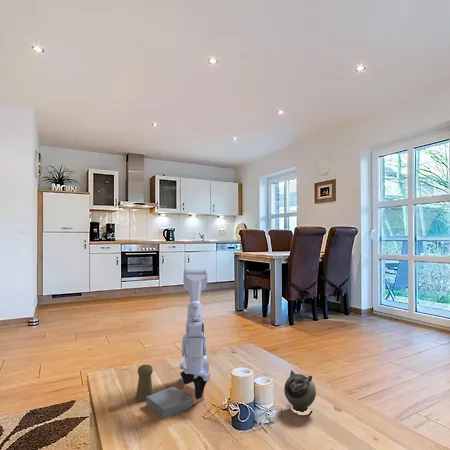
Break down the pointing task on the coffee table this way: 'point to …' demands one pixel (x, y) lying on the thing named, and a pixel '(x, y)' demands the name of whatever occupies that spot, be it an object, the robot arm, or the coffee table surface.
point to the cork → (144, 382)
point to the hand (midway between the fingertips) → (193, 395)
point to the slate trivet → (168, 402)
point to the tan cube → (192, 392)
